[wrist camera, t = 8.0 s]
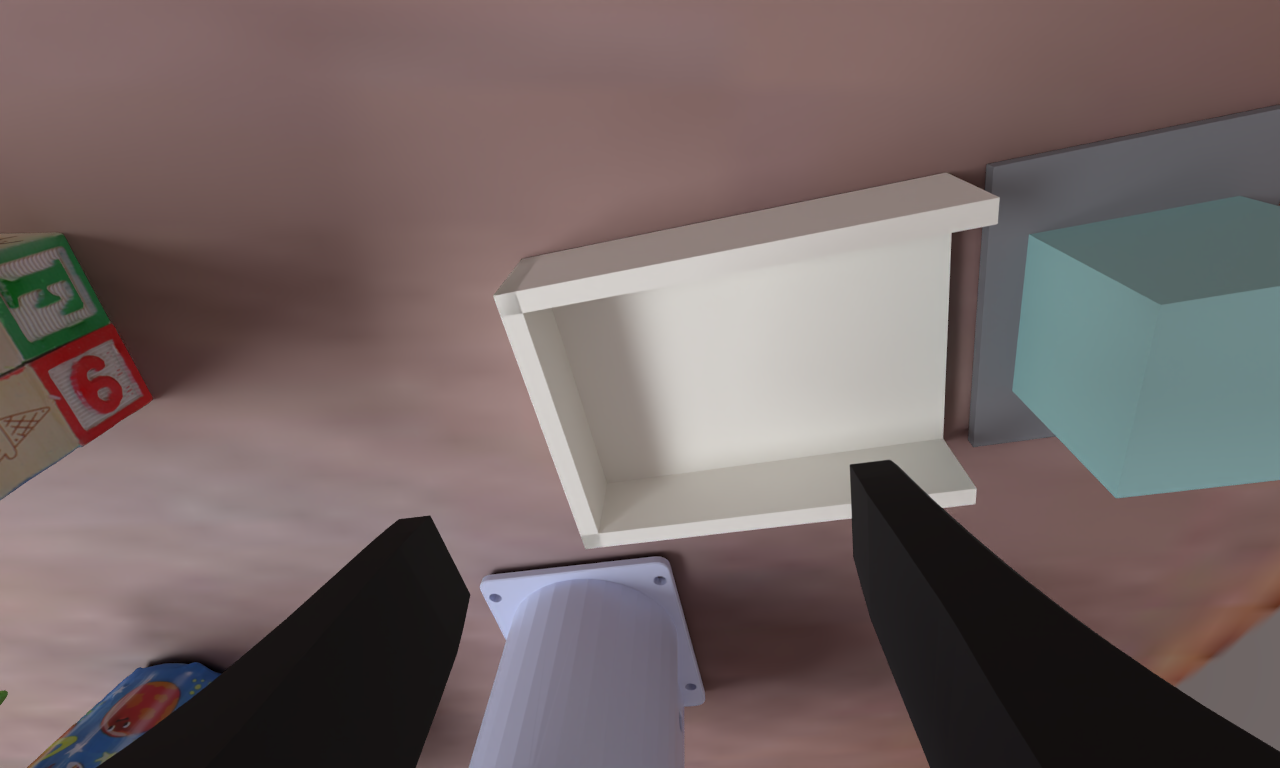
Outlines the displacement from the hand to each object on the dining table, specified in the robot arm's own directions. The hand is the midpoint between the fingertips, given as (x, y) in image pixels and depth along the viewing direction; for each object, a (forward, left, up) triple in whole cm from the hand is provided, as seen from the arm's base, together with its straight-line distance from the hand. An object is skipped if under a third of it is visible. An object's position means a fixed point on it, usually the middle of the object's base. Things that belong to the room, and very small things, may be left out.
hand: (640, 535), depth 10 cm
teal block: (-2, -13, -9) cm, 16 cm away
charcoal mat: (-2, -13, -9) cm, 16 cm away
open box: (-2, -2, -9) cm, 10 cm away
